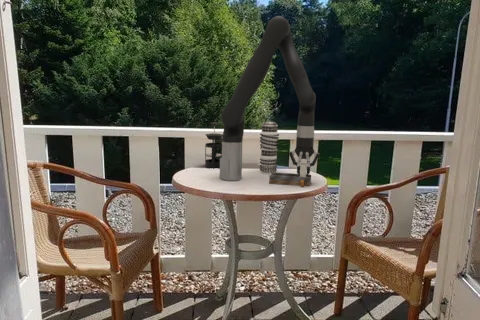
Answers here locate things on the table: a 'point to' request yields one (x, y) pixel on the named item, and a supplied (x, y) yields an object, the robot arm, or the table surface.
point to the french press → (213, 150)
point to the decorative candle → (268, 147)
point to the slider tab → (303, 170)
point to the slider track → (289, 179)
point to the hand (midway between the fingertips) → (303, 174)
